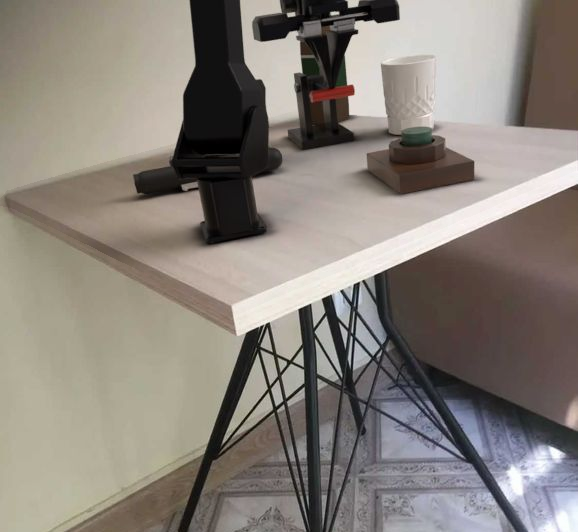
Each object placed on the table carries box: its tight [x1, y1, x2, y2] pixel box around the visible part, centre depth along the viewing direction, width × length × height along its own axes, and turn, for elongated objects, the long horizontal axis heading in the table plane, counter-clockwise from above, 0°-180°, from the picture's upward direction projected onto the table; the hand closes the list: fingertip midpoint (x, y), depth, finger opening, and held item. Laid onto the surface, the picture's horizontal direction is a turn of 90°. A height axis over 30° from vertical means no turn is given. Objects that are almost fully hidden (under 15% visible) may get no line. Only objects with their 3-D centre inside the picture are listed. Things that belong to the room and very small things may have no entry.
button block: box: [365, 134, 475, 195], centre depth 84 cm, size 12×9×4 cm
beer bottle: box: [299, 12, 350, 125], centre depth 114 cm, size 8×8×24 cm
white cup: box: [380, 54, 437, 136], centre depth 103 cm, size 8×8×10 cm
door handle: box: [132, 146, 284, 195], centre depth 97 cm, size 3×20×16 cm
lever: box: [307, 74, 356, 103], centre depth 100 cm, size 12×6×2 cm, turn 13°
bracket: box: [287, 69, 355, 151], centre depth 106 cm, size 10×8×10 cm
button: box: [400, 127, 433, 146], centre depth 82 cm, size 4×4×2 cm
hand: (331, 88), depth 95 cm, fingers closed, pressing on lever
